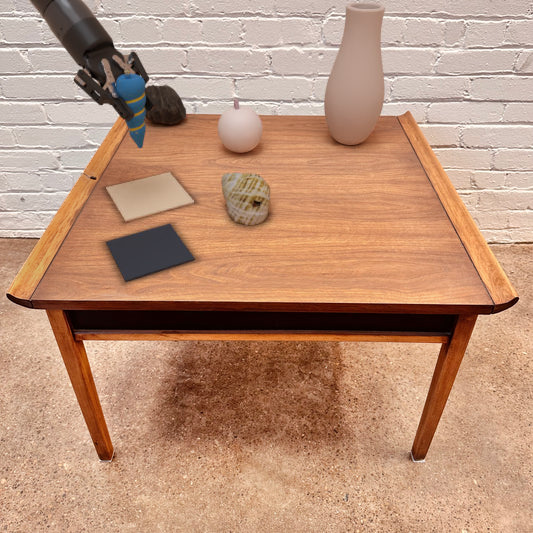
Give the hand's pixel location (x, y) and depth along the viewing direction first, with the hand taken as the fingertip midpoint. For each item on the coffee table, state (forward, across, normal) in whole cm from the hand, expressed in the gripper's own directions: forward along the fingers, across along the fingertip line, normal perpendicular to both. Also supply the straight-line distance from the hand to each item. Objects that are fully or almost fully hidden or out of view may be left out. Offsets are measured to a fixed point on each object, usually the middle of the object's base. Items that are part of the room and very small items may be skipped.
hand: (142, 113), depth 85 cm
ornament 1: (+4, 0, +7) cm, 8 cm away
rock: (-4, +32, +30) cm, 44 cm away
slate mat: (+20, -14, +5) cm, 25 cm away
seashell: (+25, +6, 0) cm, 26 cm away
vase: (+28, +46, -3) cm, 55 cm away
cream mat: (+11, 0, +14) cm, 18 cm away
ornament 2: (+14, +28, +11) cm, 33 cm away
